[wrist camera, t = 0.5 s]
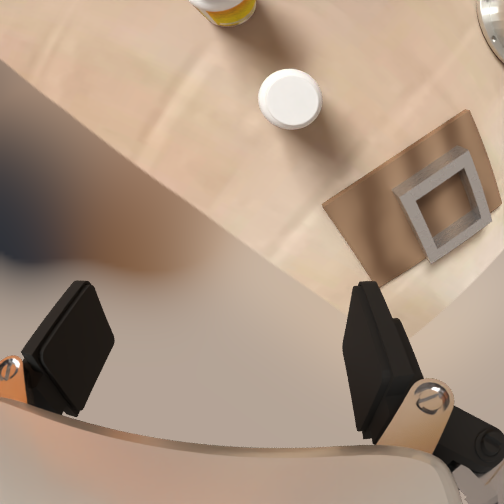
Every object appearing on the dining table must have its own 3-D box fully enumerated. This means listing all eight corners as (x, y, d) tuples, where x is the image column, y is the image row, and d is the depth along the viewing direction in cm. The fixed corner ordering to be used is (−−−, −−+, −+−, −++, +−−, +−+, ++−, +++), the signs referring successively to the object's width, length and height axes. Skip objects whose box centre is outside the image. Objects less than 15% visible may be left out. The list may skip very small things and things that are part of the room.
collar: (457, 145, 29) (468, 150, 26) (482, 213, 32) (492, 221, 30) (391, 189, 32) (399, 197, 30) (423, 253, 36) (431, 264, 34)
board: (465, 109, 27) (469, 110, 26) (498, 200, 32) (502, 203, 31) (321, 204, 35) (322, 207, 34) (375, 284, 40) (377, 288, 39)
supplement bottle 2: (323, 102, 29) (343, 107, 21) (283, 132, 31) (288, 148, 23) (289, 63, 27) (297, 52, 19) (250, 94, 29) (240, 96, 21)
